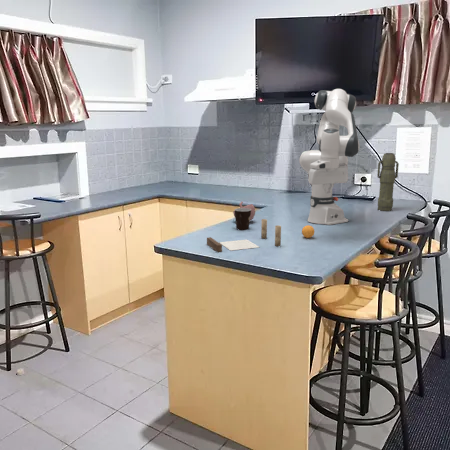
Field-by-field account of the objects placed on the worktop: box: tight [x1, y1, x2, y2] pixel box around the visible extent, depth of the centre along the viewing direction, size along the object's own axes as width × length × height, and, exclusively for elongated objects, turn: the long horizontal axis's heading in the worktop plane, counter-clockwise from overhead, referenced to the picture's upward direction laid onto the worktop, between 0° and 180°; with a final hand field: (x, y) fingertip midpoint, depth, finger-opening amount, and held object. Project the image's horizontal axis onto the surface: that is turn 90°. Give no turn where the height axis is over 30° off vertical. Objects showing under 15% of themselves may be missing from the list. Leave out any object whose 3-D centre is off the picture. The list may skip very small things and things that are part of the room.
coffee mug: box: [234, 207, 251, 231], centre depth 240 cm, size 12×9×10 cm
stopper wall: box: [206, 236, 223, 253], centre depth 207 cm, size 2×14×3 cm, turn 21°
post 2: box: [274, 225, 282, 247], centre depth 210 cm, size 3×3×9 cm
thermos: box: [376, 152, 400, 212], centre depth 286 cm, size 9×12×35 cm
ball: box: [301, 225, 316, 239], centre depth 224 cm, size 6×6×6 cm
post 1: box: [260, 218, 268, 240], centre depth 223 cm, size 3×3×9 cm
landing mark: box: [218, 239, 260, 252], centre depth 212 cm, size 14×14×1 cm
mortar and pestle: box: [232, 201, 256, 222], centre depth 256 cm, size 12×12×12 cm
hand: (327, 193), depth 223 cm, fingers closed
